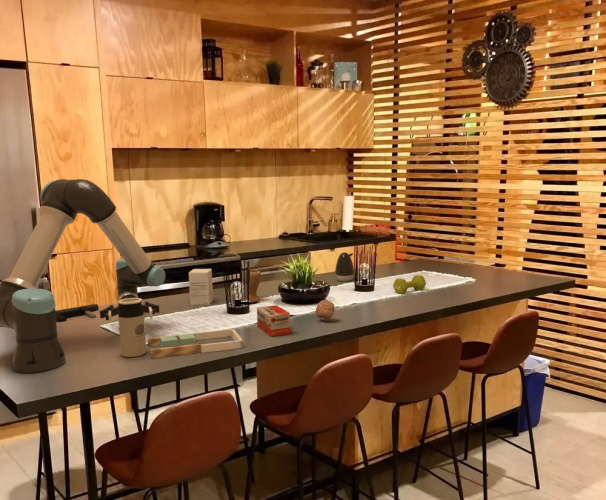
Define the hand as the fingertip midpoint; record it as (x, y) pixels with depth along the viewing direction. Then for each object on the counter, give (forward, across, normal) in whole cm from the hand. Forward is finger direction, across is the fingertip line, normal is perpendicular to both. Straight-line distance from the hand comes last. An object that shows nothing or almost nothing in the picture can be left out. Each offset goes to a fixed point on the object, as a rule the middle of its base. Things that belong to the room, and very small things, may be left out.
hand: (130, 317), depth 193 cm
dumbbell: (-37, -129, -11) cm, 135 cm away
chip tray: (+10, -27, -10) cm, 31 cm away
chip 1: (+10, -11, -10) cm, 18 cm away
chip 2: (+10, -17, -10) cm, 22 cm away
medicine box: (+2, -50, -11) cm, 51 cm away
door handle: (-52, +20, -11) cm, 57 cm away
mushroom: (-3, -72, -10) cm, 73 cm away
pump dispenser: (-76, -112, -11) cm, 135 cm away
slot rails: (+10, -13, -10) cm, 19 cm away
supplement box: (-56, -32, -10) cm, 65 cm away
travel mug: (+10, 0, -10) cm, 14 cm away
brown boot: (-50, -52, -10) cm, 73 cm away
